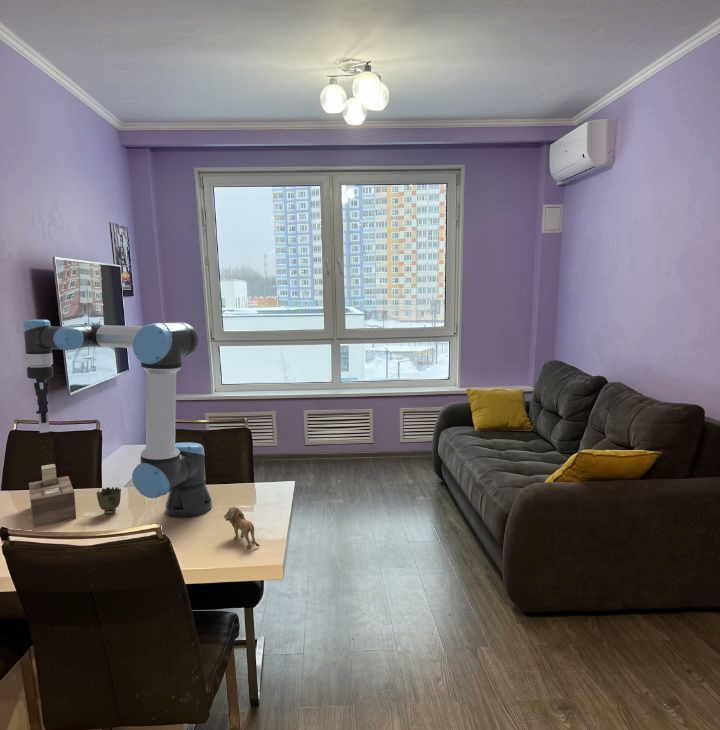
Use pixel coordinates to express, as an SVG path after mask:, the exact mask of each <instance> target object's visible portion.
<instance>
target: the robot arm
mask: <svg viewBox="0 0 720 730" xmlns="http://www.w3.org/2000/svg"><path fill="white" fill-rule="evenodd" d="M23 335H24V336H23V337H24V349H25V356H23V359H24V360H25V361H26V365H27V366H28V367H27V368H26V377H27V379H31V380H35V381H36V382H34V383H33V387H34V390H35V392H34V393H35V396H36V397H37V400H36V401H37V410H36V411H35V412H36V415H37V416H38V417H37V418H38V426H39V427H38V428H39V429H38V430H39V433H40V434H43V433H44V434H45V433H50V422H49V421H50V420H49V408H48V407H49V406H48V405H49V401H48V398H47V397H48V395H49V390H48V389H49V384H48V383H49V382H48V381H46V379H50V378H53V377H54V367H53V364H54V358H53V350H61V351H62V350H63V351H75V350H78V349H81V348H92V347H95V348H96V347H98V348H104V347H105V348H124V349H132V350H133V354H134V355H135V356H136V359H137V360H138V361H140V363H141V364H140V368H141V369H143V371H145V373H146V379H145V380H146V383H145V384H146V385H145V387H146V391H145V392H146V396H145V397H146V398H145V399H146V400H145V402H146V403H145V408H146V409H145V419H146V420H145V448H144V449H143V450H142V451H141V452H140V459H139V460H140V463H139V464H137V466H135V468H133V470H132V474H131V477H132V479H131V481H132V483H133V486H134V487H135V489H136V490H137V491H138V492H139V493H140V495H142V496H144V497H146V498H149V499H157V498H159V497H163V496H165V495H167V494H168V495H167V496H168V497H167V500H166V503H165V514H166V515H168V516H170V517H173V518H191V517H196V515H197V516H200V515H203V514H204V512H205V513H207V512H208V510H209V509H210V508H211V507H212V508H213V503H212V502H213V501H212V497H211V496H210V491H209V489H208V487H207V485H206V484H207V483H206V464H205V463H206V462H205V461H206V459H205V456H206V454H205V448H204V445H202V444H201V443H198V442H176V422H177V421H176V417H177V416H176V415H177V413H176V412H177V372H178V371H180V370H181V369H182V366H183V364H182V363H183V362H182V361H183V360H182V359H185V358H187V357H190V356H191V355H193V354H194V353H195V352H196V350H197V349H198V346H199V343H200V338H199V334H198V332H197V330H196V328H194V327H193V326H192V325H191V324H189V323H187V322H182V321H175V322H153V323H150V324H146V325H143V326H142V325H140V326H139V325H111V324H110V325H107V324H106V325H105V324H98V323H97V324H87V325H85V324H84V325H69V326H68V325H67V326H53V325H51V321H50V320H48V319H27V320H25V321H24V323H23ZM212 508H211V509H212ZM211 509H210V510H211ZM210 510H209V511H210ZM206 511H207V512H206ZM202 513H203V514H202ZM199 514H200V515H199Z"/></svg>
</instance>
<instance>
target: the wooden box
mask: <svg viewBox="0 0 720 730" xmlns="http://www.w3.org/2000/svg"><path fill="white" fill-rule="evenodd" d="M56 478H57V483H56V484H51V485H45V486H43V480H37V481H30V482H28V487H29V489H28V490H29V499H30V511H31V519H32V525H33V528H37V527H36V526H38V527H43V526H47V525H52V524H56V523H57V524H58V523H61V521H62V522H65V520H66V521H71V520H75V518H76V519H77V512H76V510H77V509H76V497H75V496H76V495H75V491H74V489H73V486H72V482H71V480H70V477H69V475H66V476H59V477H56ZM70 519H71V520H70Z"/></svg>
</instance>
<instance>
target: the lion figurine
mask: <svg viewBox="0 0 720 730" xmlns="http://www.w3.org/2000/svg"><path fill="white" fill-rule="evenodd" d="M223 519H225V521H226V522H228V521H229V523H230V524H231V526H232V527H233V531H234V533H235V536H233V540H238V539H239V537H240V536H241V537H244V539H245V540H246V542H247V545H246V548H247V549H250V548H252V543H253V544H254V545H255V546H256V547H260V546H261V545H260V544H259V543H257V542H256V538H255V527H254V523H253V522H252V521H250V520H247V519H246V518H245V515H244V514H243V511H241V510H240V509H239V508H238V507H235V506H230V507H228V511H226V513H225V515H223ZM239 531H241V532H240V535H239ZM249 534H250V535H251V536H250V537H251V540H250V537H249ZM251 542H252V543H251Z"/></svg>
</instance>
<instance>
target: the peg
mask: <svg viewBox="0 0 720 730" xmlns="http://www.w3.org/2000/svg"><path fill="white" fill-rule="evenodd" d="M56 468H57V467H56V464H55V463H52V464H46V465H41V479H42V480H43V486H45V485H51V484H56V483H57V478H58V477H57V469H56Z"/></svg>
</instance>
